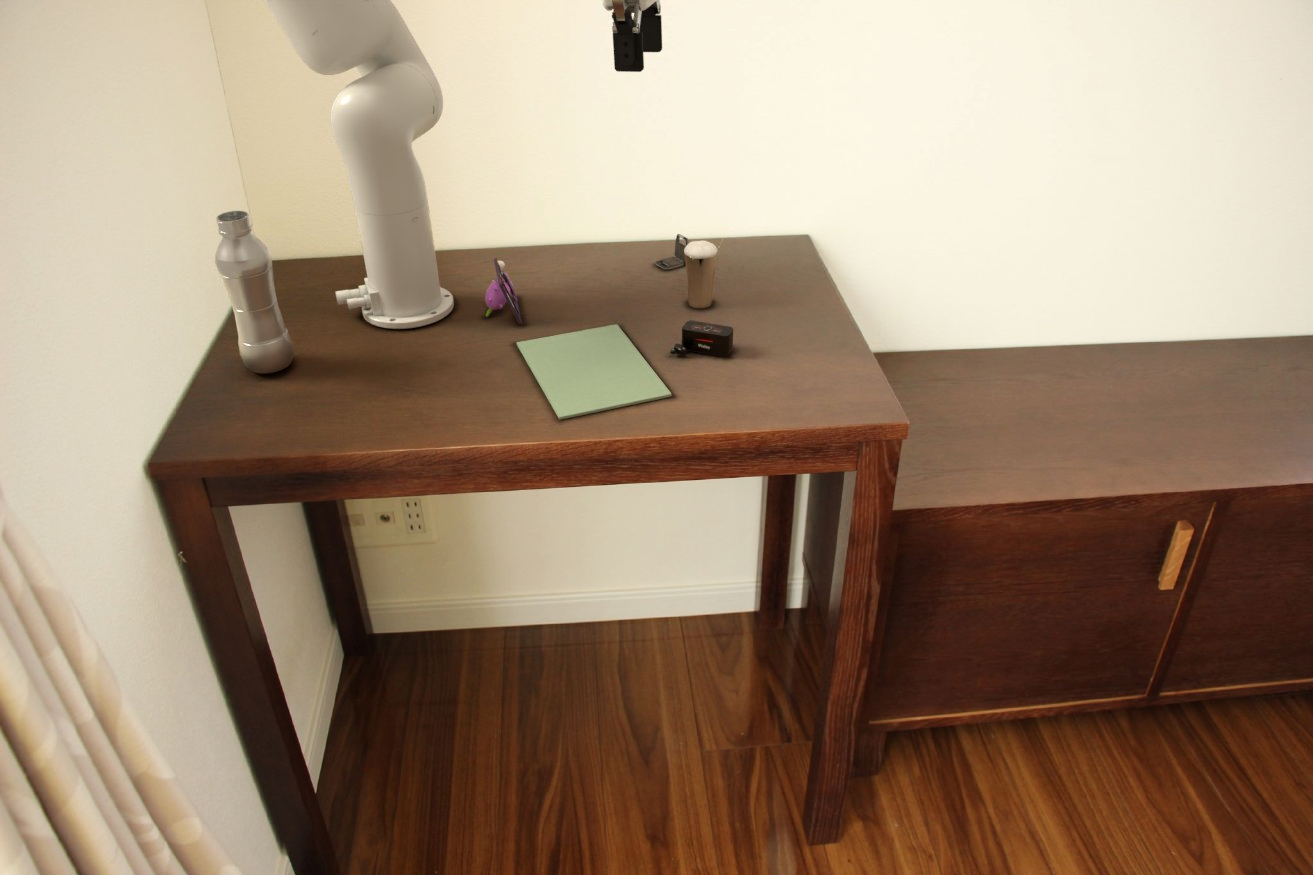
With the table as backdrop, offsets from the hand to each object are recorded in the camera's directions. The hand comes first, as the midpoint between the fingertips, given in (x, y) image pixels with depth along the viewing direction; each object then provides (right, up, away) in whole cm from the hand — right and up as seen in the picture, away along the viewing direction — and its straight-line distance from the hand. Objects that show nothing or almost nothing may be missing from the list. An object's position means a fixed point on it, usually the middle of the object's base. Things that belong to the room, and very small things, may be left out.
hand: (639, 61), depth 112 cm
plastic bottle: (-47, -34, +13) cm, 60 cm away
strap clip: (+6, -16, +40) cm, 43 cm away
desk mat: (-6, -34, +11) cm, 37 cm away
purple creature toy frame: (-20, -26, +25) cm, 41 cm away
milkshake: (+9, -24, +27) cm, 37 cm away
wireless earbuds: (+8, -32, +15) cm, 36 cm away
